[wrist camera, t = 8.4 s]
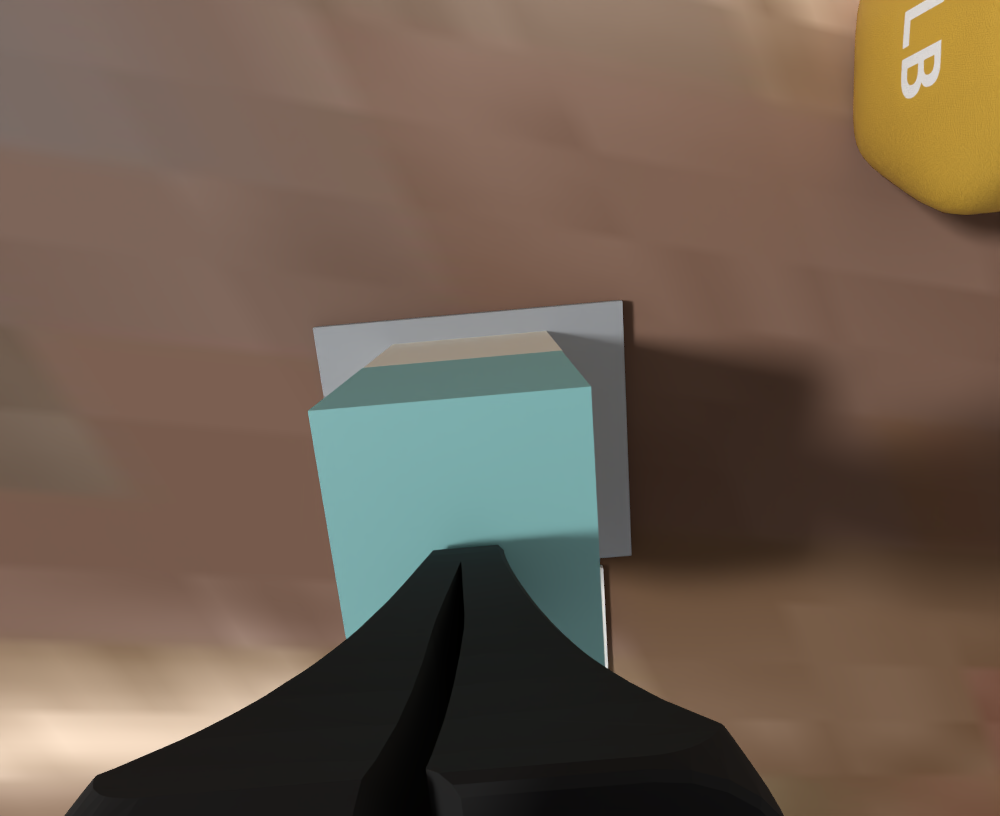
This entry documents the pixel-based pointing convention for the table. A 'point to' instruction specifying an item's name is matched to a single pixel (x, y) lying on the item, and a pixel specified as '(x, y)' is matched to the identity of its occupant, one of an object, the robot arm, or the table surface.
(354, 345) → the build board
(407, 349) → the brick cream
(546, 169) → the table surface
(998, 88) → the dumbbell
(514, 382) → the brick teal
